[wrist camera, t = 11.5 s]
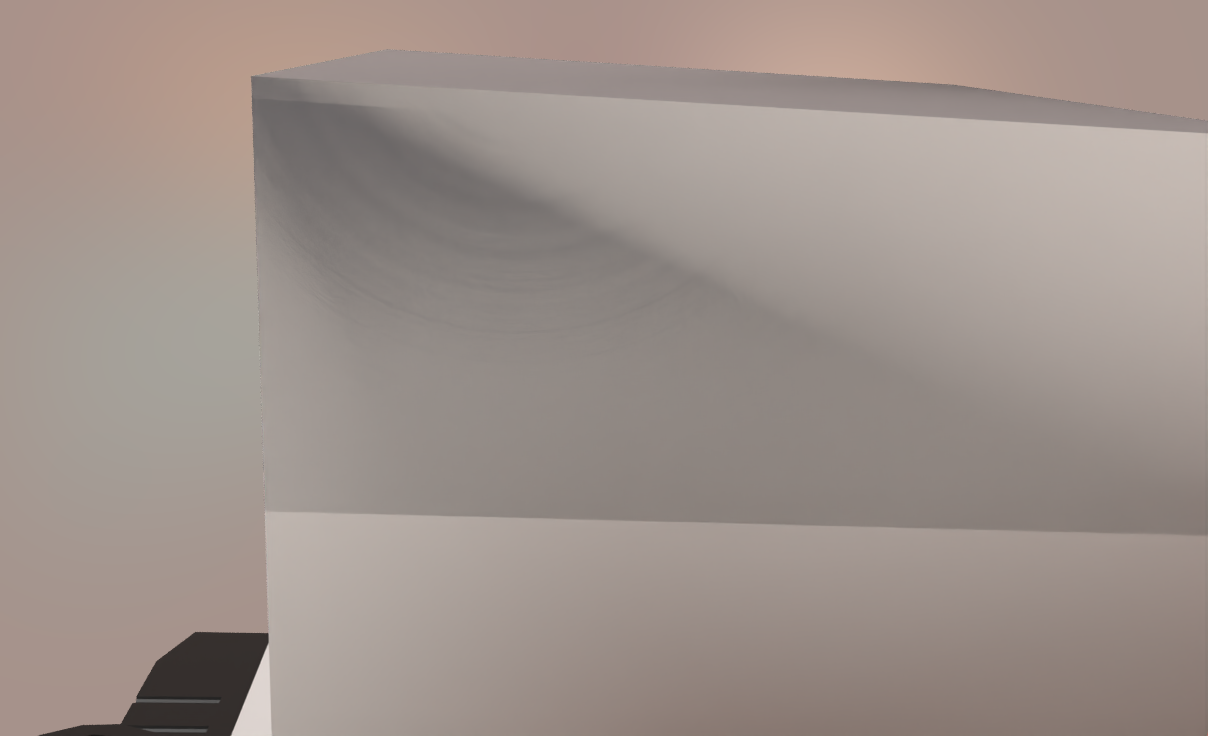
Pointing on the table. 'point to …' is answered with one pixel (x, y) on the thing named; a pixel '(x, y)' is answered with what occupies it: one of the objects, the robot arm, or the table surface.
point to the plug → (727, 404)
